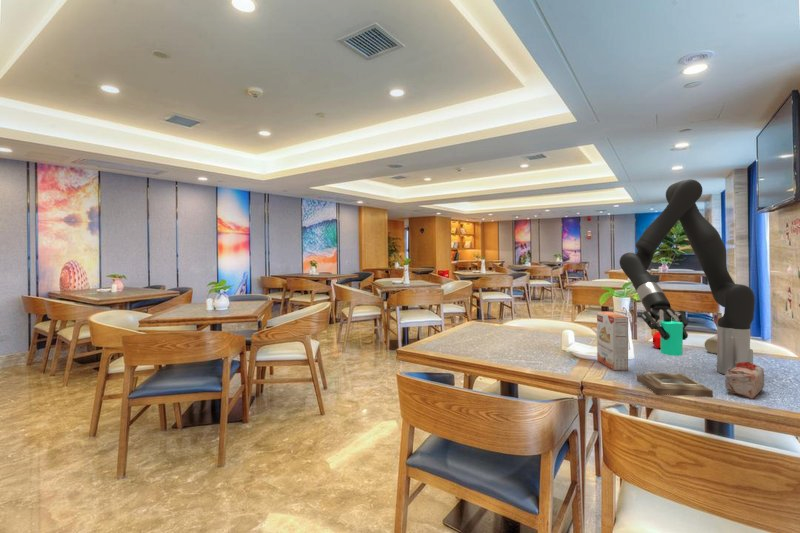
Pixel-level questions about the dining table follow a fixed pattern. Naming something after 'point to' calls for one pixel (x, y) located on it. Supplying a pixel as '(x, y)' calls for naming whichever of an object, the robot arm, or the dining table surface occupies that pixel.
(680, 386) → the walnut base board
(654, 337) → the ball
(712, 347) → the beige rounded cylinder
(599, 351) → the cracker box
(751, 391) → the food item
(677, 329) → the candle
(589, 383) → the dining table surface
